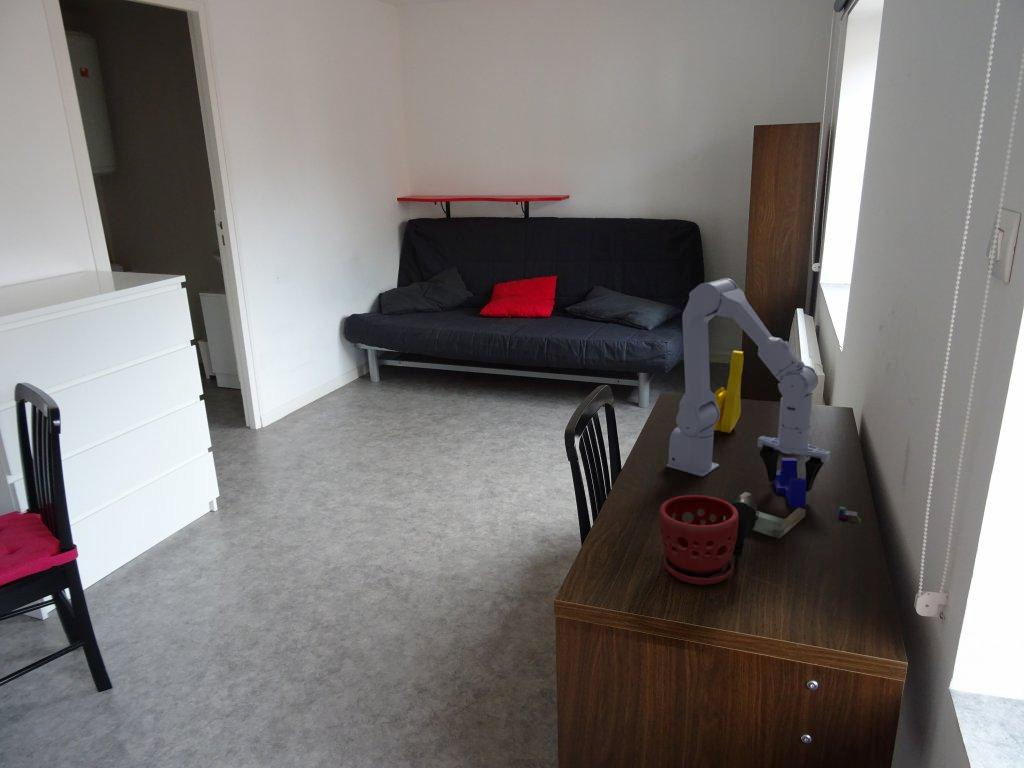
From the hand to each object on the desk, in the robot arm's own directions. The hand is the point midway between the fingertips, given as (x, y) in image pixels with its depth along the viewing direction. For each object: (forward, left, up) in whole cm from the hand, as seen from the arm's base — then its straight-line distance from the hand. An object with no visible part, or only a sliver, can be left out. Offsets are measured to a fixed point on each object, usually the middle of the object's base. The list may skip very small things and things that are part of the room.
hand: (789, 485), depth 152 cm
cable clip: (0, 0, -3) cm, 3 cm away
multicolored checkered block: (+13, -2, -3) cm, 13 cm away
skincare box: (-12, +30, -3) cm, 32 cm away
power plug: (+4, -31, -3) cm, 32 cm away
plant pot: (0, -39, -3) cm, 39 cm away
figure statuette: (-29, +28, -3) cm, 40 cm away
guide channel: (0, -13, -3) cm, 13 cm away
